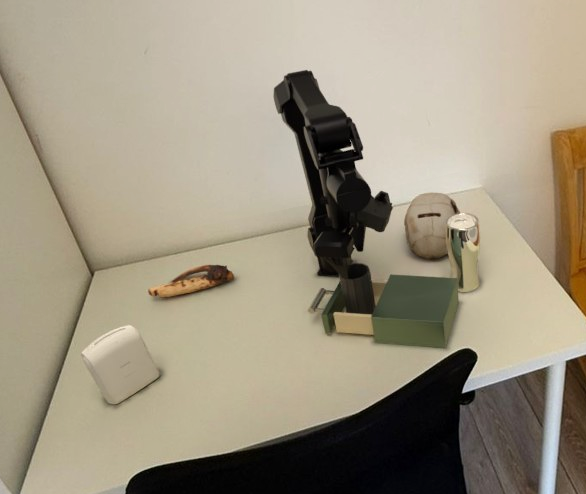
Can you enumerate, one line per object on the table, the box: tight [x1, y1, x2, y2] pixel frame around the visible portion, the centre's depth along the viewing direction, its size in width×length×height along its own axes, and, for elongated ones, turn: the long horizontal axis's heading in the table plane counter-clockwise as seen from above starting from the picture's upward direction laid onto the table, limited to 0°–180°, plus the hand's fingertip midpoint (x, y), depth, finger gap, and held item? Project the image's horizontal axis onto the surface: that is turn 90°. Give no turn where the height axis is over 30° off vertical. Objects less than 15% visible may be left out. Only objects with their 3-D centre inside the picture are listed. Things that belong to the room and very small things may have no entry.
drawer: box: [307, 279, 388, 336], centre depth 125 cm, size 17×13×5 cm
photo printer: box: [80, 324, 161, 405], centre depth 112 cm, size 10×4×12 cm, turn 140°
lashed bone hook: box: [147, 264, 235, 298], centre depth 139 cm, size 9×5×18 cm
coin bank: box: [403, 192, 461, 260], centre depth 143 cm, size 16×17×13 cm
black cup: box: [338, 262, 376, 315], centre depth 123 cm, size 6×6×10 cm
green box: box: [371, 274, 460, 349], centre depth 122 cm, size 14×14×6 cm
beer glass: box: [445, 212, 481, 293], centre depth 129 cm, size 7×7×15 cm
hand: (353, 264), depth 119 cm, fingers open, 9 cm apart
